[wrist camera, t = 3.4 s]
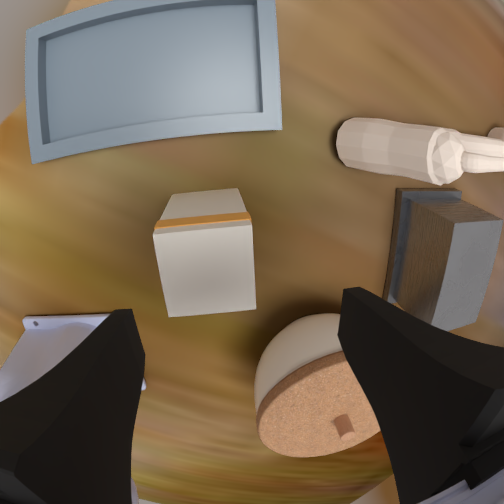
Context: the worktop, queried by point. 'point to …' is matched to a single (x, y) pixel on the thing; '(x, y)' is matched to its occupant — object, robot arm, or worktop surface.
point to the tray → (150, 73)
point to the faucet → (418, 150)
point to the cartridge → (206, 253)
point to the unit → (440, 256)
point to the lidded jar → (310, 392)
